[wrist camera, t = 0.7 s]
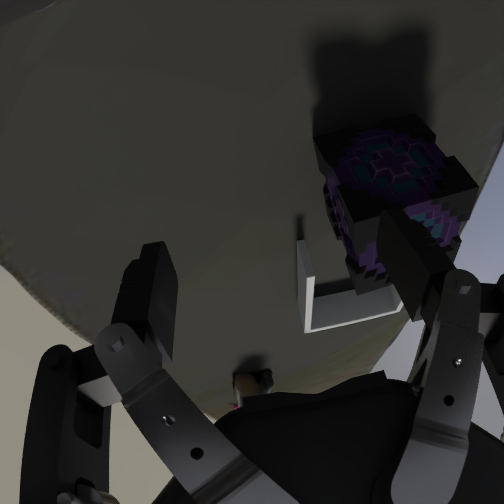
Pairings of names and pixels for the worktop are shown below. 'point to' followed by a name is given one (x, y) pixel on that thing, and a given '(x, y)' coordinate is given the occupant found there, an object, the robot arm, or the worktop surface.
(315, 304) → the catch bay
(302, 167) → the worktop surface
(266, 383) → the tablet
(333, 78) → the worktop surface
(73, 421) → the robot arm
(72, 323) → the worktop surface
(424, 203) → the energy cube
